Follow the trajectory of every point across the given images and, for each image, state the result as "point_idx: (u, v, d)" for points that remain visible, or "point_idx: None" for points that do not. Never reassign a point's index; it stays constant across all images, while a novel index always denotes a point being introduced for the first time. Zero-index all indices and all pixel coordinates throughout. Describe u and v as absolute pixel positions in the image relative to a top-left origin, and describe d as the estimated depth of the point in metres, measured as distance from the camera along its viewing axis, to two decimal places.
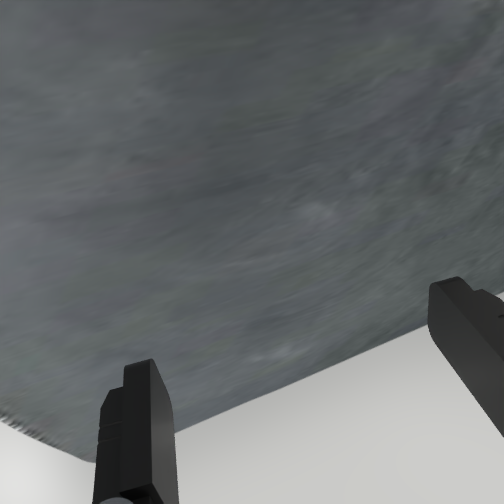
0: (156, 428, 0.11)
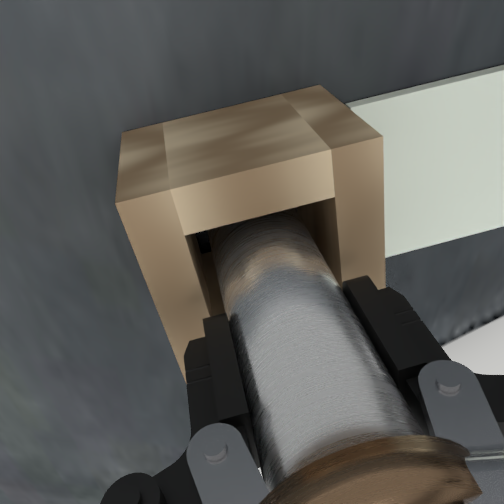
0: (239, 371, 0.12)
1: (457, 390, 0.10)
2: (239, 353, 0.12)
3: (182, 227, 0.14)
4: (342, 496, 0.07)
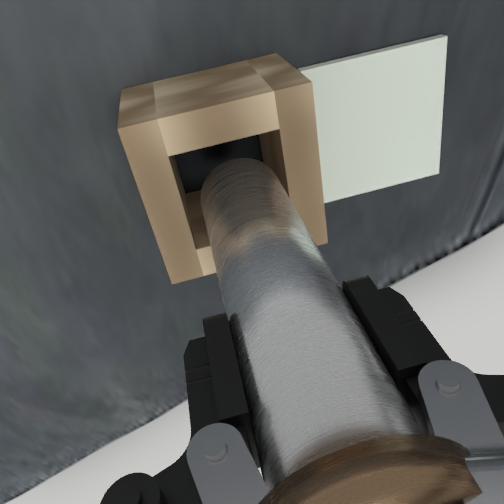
0: (239, 371, 0.12)
1: (457, 390, 0.10)
2: (239, 353, 0.12)
3: (166, 149, 0.19)
4: (342, 495, 0.07)
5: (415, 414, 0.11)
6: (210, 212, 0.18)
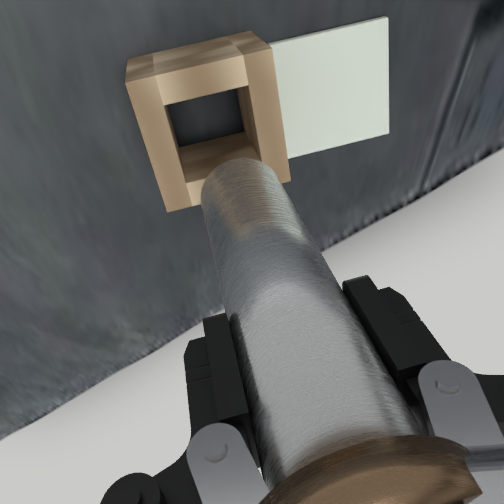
0: (239, 371, 0.12)
1: (457, 390, 0.10)
2: (239, 353, 0.12)
3: (162, 100, 0.25)
4: (342, 495, 0.07)
5: (415, 414, 0.11)
6: (210, 212, 0.18)
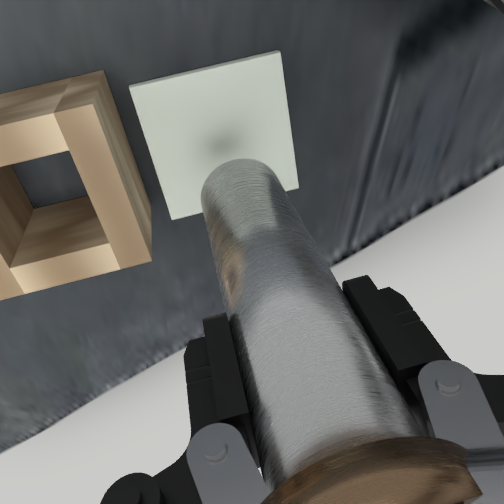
0: (239, 371, 0.12)
1: (457, 390, 0.10)
2: (239, 354, 0.12)
3: None
4: (342, 497, 0.07)
5: (415, 414, 0.11)
6: (210, 213, 0.18)
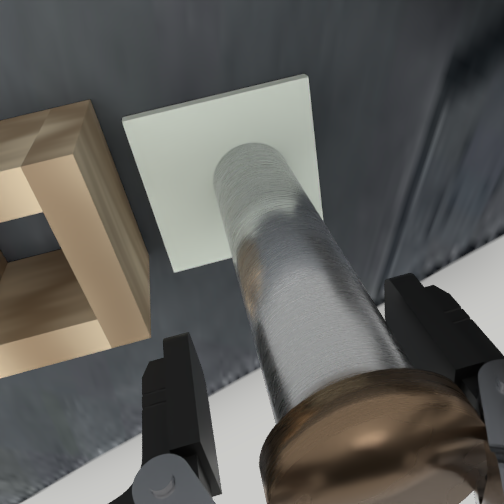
0: (197, 395, 0.12)
1: None
2: (252, 313, 0.13)
3: None
4: (346, 414, 0.09)
5: None
6: (223, 192, 0.19)
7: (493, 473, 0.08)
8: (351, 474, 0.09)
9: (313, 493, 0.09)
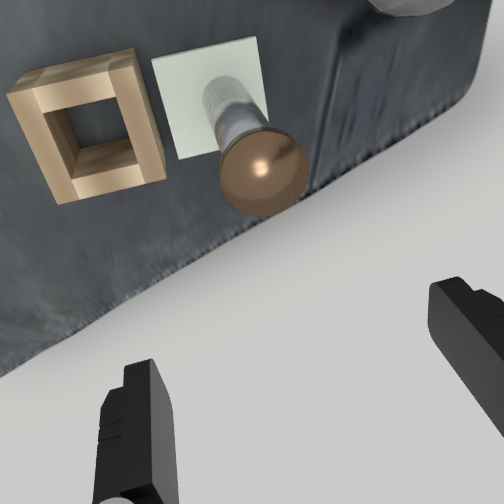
0: (156, 428, 0.11)
1: None
2: (219, 137, 0.29)
3: (40, 108, 0.30)
4: (246, 136, 0.24)
5: None
6: (207, 99, 0.35)
7: None
8: (251, 165, 0.25)
9: (237, 174, 0.25)
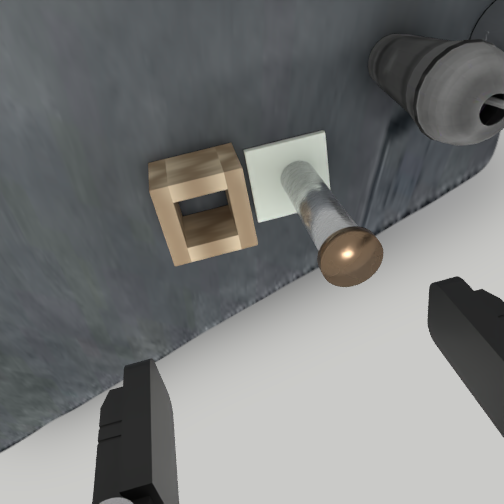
0: (156, 428, 0.11)
1: None
2: (309, 223, 0.39)
3: (172, 199, 0.40)
4: (342, 235, 0.34)
5: None
6: (288, 182, 0.44)
7: None
8: (343, 254, 0.34)
9: (333, 260, 0.35)
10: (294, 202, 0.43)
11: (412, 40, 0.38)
